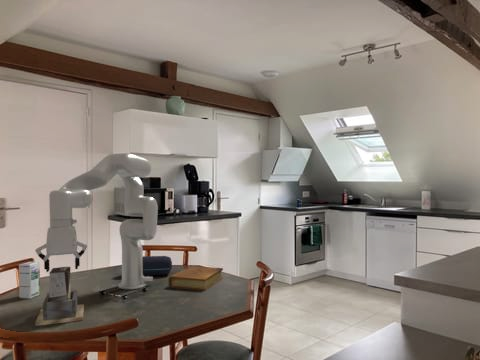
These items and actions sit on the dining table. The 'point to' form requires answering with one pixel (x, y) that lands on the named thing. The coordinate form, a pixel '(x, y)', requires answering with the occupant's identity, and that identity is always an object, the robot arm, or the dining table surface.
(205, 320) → the dining table surface
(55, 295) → the coffee box
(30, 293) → the syrup box
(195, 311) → the dining table surface
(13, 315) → the dining table surface
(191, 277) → the diary
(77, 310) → the frame
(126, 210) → the robot arm
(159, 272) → the portable speaker
